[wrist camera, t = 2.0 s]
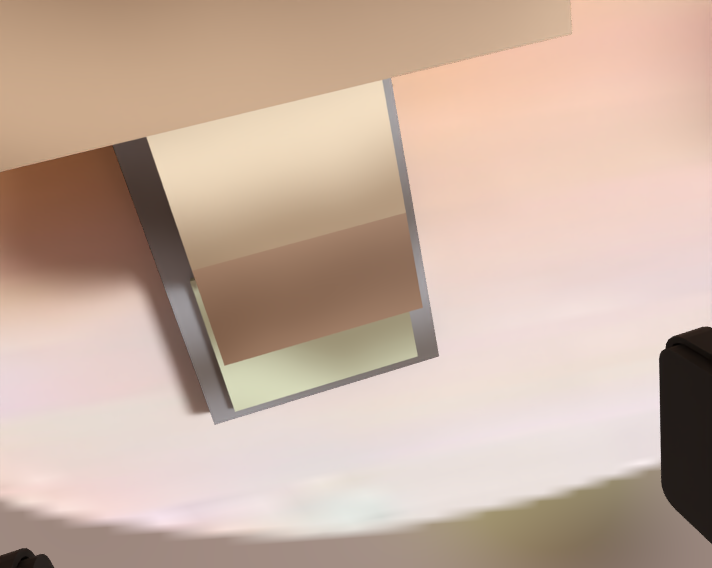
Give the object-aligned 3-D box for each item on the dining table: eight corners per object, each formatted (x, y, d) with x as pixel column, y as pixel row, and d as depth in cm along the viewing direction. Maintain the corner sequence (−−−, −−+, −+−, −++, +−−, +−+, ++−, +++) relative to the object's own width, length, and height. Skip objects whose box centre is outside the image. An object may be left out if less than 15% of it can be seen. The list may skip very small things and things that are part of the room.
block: (47, -242, 16) (-32, -384, 11) (264, -276, 17) (291, -426, 12) (220, 289, 23) (224, 365, 17) (373, 246, 24) (423, 307, 18)
